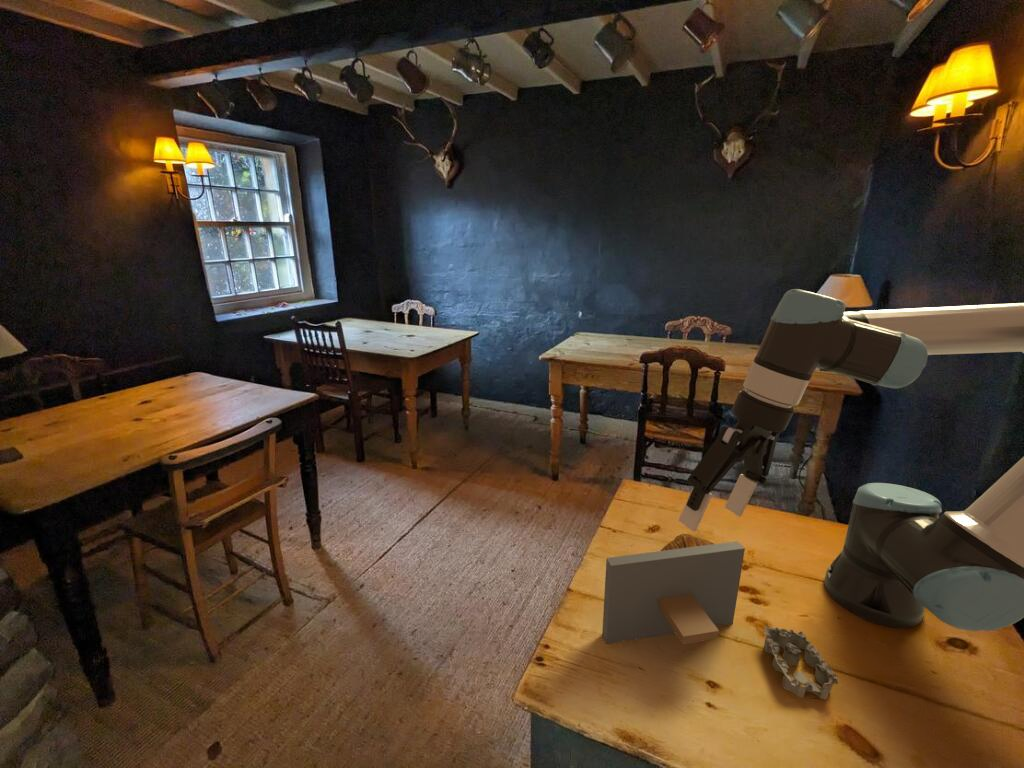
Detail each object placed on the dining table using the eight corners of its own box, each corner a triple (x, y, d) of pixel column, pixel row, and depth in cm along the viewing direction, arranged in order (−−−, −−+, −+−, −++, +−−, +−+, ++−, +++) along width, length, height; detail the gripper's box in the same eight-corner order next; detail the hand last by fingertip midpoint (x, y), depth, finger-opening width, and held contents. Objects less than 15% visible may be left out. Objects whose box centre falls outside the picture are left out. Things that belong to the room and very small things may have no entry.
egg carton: (836, 704, 69) (842, 684, 67) (782, 697, 70) (787, 677, 69) (805, 645, 79) (809, 626, 78) (758, 639, 80) (762, 620, 79)
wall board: (726, 615, 85) (737, 541, 80) (763, 661, 75) (778, 580, 71) (602, 634, 81) (606, 557, 76) (624, 685, 72) (631, 602, 67)
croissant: (705, 542, 106) (708, 523, 104) (724, 561, 99) (727, 541, 98) (651, 550, 103) (653, 531, 102) (667, 570, 97) (669, 550, 95)
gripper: (780, 387, 77) (730, 494, 84) (698, 386, 62) (644, 516, 69) (828, 407, 71) (769, 519, 78) (750, 410, 56) (686, 549, 63)
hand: (711, 518), depth 73 cm, fingers open, 13 cm apart
